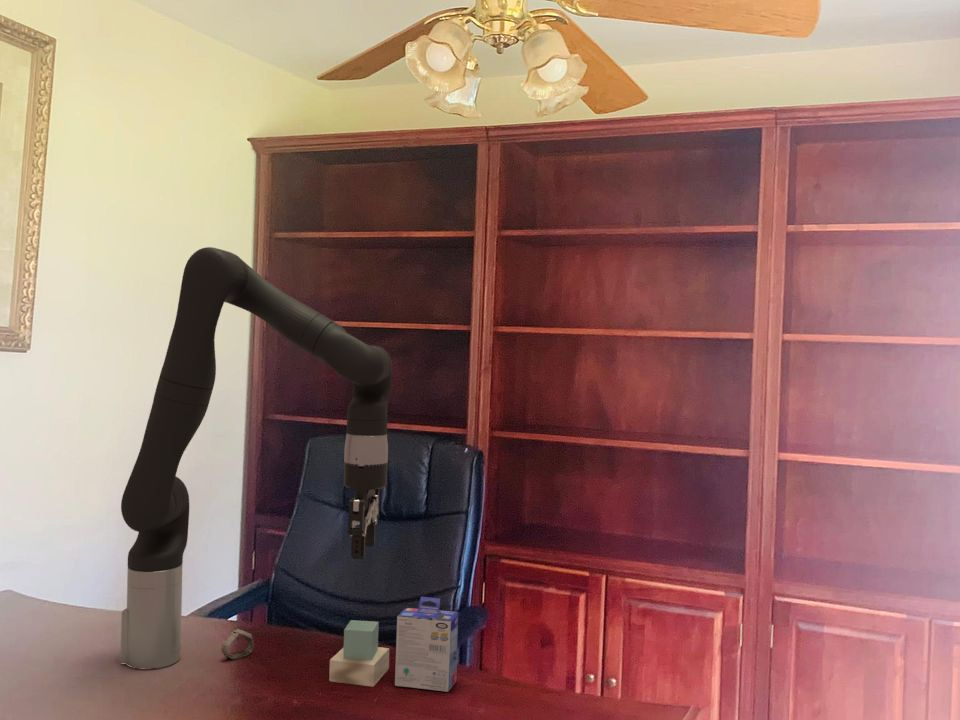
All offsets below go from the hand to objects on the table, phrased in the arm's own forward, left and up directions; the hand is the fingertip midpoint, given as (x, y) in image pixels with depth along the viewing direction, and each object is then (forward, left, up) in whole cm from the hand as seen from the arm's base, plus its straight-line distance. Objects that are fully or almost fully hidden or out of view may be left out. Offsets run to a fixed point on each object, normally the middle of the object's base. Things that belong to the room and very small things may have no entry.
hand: (363, 551), depth 144 cm
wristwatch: (-24, +5, -22) cm, 33 cm away
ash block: (0, 0, -22) cm, 22 cm away
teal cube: (0, 0, -18) cm, 18 cm away
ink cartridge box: (+12, -2, -22) cm, 25 cm away
